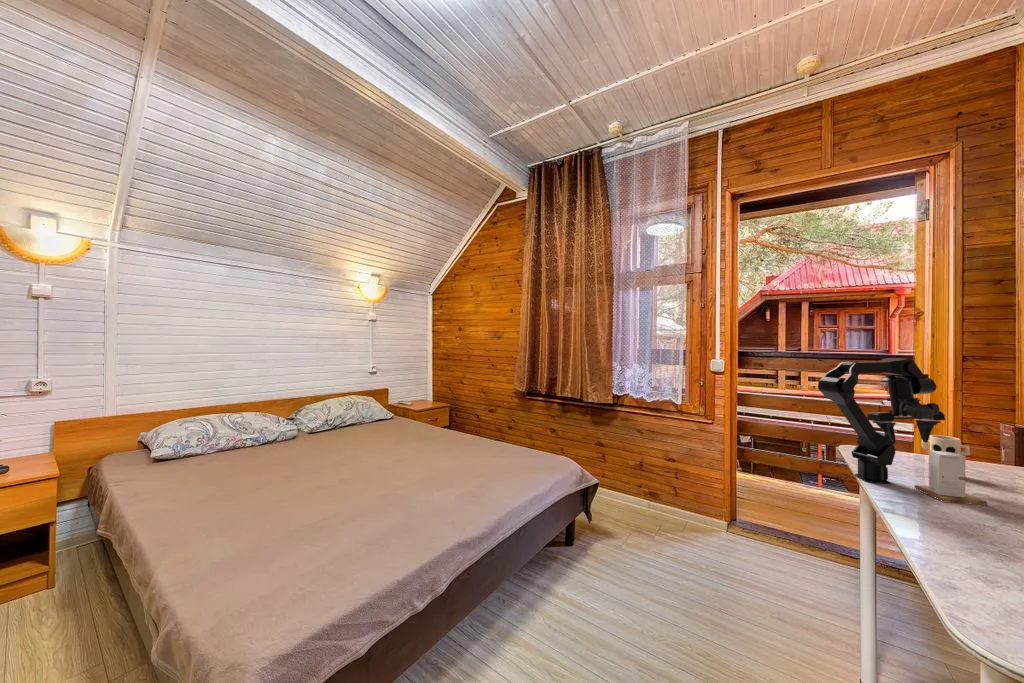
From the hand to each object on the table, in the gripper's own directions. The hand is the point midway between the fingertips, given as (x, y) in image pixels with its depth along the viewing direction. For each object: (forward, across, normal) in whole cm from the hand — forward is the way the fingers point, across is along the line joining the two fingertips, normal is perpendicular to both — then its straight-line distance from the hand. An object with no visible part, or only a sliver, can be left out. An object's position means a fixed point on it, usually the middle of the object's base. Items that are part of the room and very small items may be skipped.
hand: (909, 442), depth 123 cm
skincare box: (+13, -1, -12) cm, 18 cm away
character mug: (+13, +17, +10) cm, 23 cm away
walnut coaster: (+14, 0, -11) cm, 18 cm away
